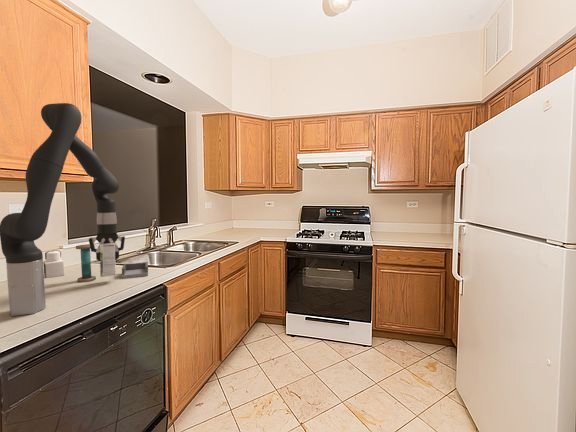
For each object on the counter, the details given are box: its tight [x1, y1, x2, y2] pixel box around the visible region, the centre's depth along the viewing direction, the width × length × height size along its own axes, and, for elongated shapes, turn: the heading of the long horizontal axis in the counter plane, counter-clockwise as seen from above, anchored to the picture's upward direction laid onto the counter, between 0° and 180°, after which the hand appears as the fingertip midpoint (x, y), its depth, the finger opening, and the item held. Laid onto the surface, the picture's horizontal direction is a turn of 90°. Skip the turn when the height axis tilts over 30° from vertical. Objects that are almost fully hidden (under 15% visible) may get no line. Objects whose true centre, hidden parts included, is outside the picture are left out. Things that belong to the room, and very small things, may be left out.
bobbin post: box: [75, 243, 97, 283], centre depth 135 cm, size 7×7×16 cm
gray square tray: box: [121, 261, 149, 279], centre depth 145 cm, size 11×11×4 cm
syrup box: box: [99, 243, 117, 278], centre depth 132 cm, size 6×6×14 cm
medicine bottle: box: [43, 250, 66, 279], centre depth 143 cm, size 7×7×12 cm
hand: (108, 260), depth 132 cm, fingers closed on syrup box, 6 cm apart
